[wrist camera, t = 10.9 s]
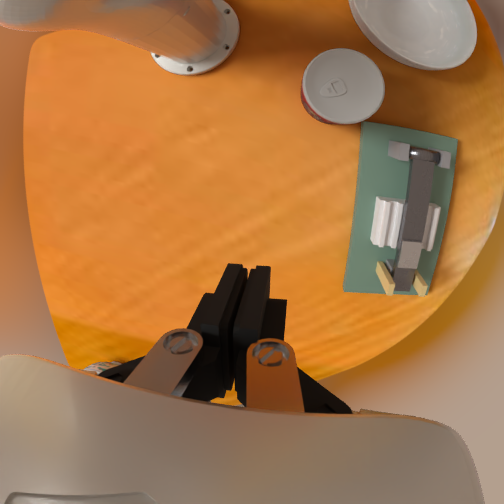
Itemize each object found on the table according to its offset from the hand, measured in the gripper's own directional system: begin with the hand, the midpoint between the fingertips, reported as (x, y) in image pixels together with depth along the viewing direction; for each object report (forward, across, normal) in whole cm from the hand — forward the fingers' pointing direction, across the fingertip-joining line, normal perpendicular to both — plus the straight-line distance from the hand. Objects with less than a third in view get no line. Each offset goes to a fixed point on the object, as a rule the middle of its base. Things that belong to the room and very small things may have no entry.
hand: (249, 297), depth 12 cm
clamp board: (+29, -17, +4) cm, 34 cm away
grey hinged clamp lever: (+25, -17, +4) cm, 30 cm away
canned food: (+29, -6, -11) cm, 32 cm away
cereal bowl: (+29, -16, -24) cm, 41 cm away
